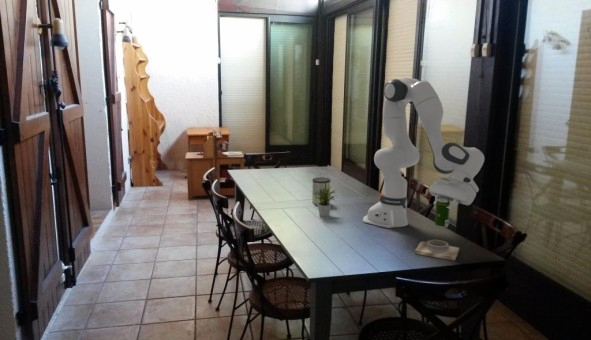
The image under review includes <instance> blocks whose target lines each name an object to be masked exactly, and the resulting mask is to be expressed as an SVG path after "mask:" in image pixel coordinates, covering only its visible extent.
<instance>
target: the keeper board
mask: <svg viewBox="0 0 591 340" xmlns="http://www.w3.org/2000/svg"><path fill="white" fill-rule="evenodd" d="M459 252H460V247H458V246H452V245H450V243H448V242H447V241H445V240H440V239H429V240H427V241H423V240H422V241H421V242H419V244H418V245H417V247H416V248H415V250H414V253H415V254H417V255H422V256H427V257H432V258H437V259H444V260H450V261H456V259H457V257H458V255H459Z"/></svg>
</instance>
